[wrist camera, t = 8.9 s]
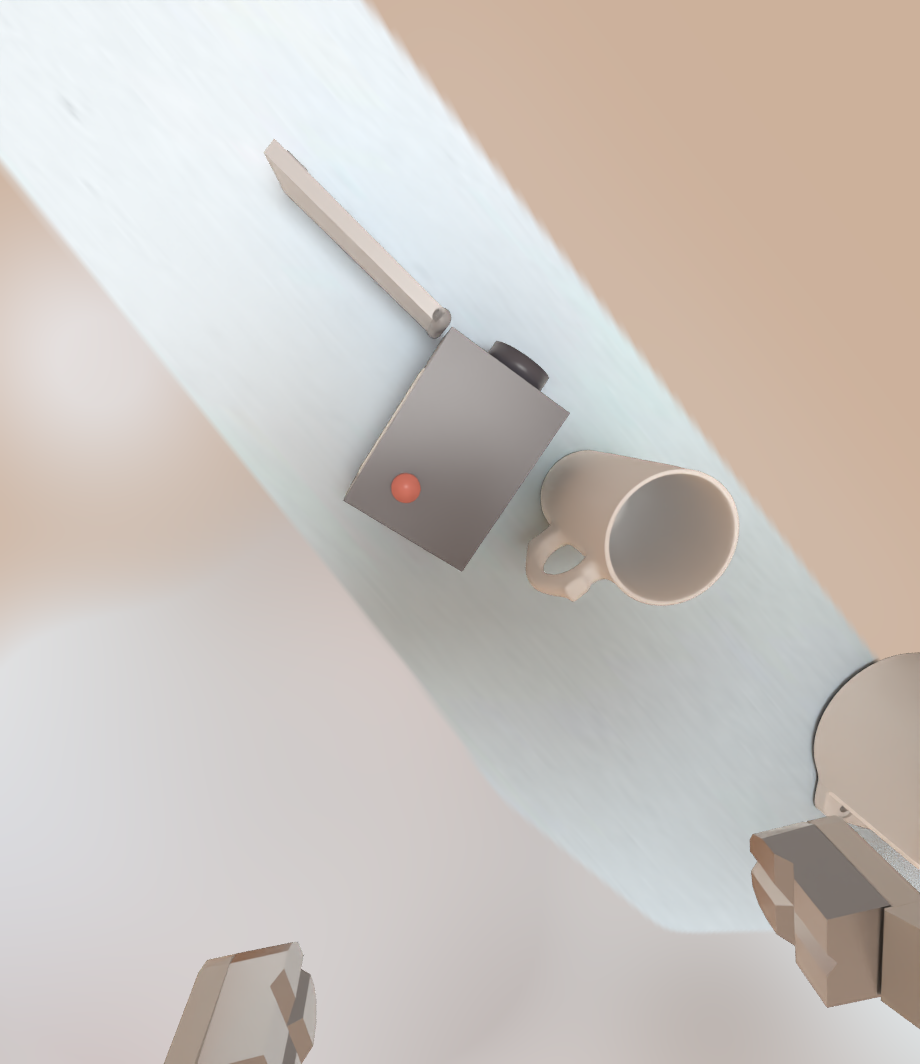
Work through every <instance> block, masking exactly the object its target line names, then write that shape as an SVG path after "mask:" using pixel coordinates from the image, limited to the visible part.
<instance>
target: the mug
mask: <svg viewBox="0 0 920 1064" xmlns="http://www.w3.org/2000/svg"><path fill="white" fill-rule="evenodd" d="M541 506H542V510H543V513H544V516H545V518H546V520H547V521H548V523H549V524H550V526H549V527H548V528H547V529H546V530H544V531H543V532H542V533H540V534H539V535H538V536H536V537H534V538H533V539H532V540H531V541H530V542H529V543H528V548H527V557H526V575H527V578H528V580H529V582H530V584H531V585H532V586H533V587H534V588H535V589H536V590H538V591H540V592H542V593H546V594H549V595H553V596H559V597H565V598H568V599H569V600H571V601H576V600H577V599H578V598H580V597H581V596H582V595H584V594H585V593H586V592H587V591H588V590H589V589H590V586H591V585H592V584H593V583H594V582H596V581H598V580H601V579H608V580H610V581H612V582H613V583H615V584H616V585H617V586H618V587H619V588H620V589H621V590H622V591H623V592H624V593H625V594H627V595H628V596H629V597H631V598H633V599H635V600H637V601H639V602H642V603H645V604H650V605H658V606H665V605H673V604H678V603H682V602H685V601H688V600H690V599H692V598H694V597H696V596H698V595H700V594H701V593H703V592H704V591H705V590H707V589H708V588H709V587H710V586H712V585H713V584H714V583H715V582H716V581H717V580H718V579H719V577H720V576H721V575H722V574H723V572H724V571H725V570H726V568H727V566H728V565H729V563H730V561H731V559H732V557H733V554H734V552H735V549H736V545H737V541H738V535H739V518H738V512H737V508H736V505H735V502H734V500H733V498H732V496H731V495H730V493H729V492H728V490H727V489H726V488H725V487H724V486H723V485H722V484H721V483H720V482H719V481H717V480H716V479H714V478H713V477H711V476H709V475H707V474H705V473H702V472H700V471H696V470H691V469H685V468H681V467H677V466H673V465H668V464H663V463H658V462H652V461H647V460H642V459H636V458H631V457H626V456H621V455H616V454H611V453H604V452H598V451H590V450H584V451H578V452H574V453H571V454H569V455H567V456H565V457H563V458H562V459H560V460H559V461H558V462H557V463H556V464H555V465H554V466H553V467H552V468H551V469H550V471H549V472H548V474H547V475H546V477H545V480H544V482H543V485H542V489H541ZM564 545H571V546H573V547H574V548H576V549H577V550H578V551H579V552H580V553H581V554H582V555H584V556H585V558H584V559H583V561H582V562H581V563H580V564H578V565H577V566H576V567H574V568H572V569H571V570H569V571H567V572H564V573H561V574H555V575H552V574H547V573H545V572H544V564H545V562H546V560H547V559H548V557H549V556H550V555H551V554H552V553H553V552H554V551H556V550H557V549H558V548H560V547H562V546H564Z"/></svg>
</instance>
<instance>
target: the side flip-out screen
mask: <svg viewBox="0 0 920 1064" xmlns="http://www.w3.org/2000/svg"><path fill="white" fill-rule="evenodd" d="M264 154H265V156H266V158H267V160H268V162H269V164H270V166H271V168H272V169H273V171H274V173H275V175H276V177H277V179H278V181H279V183H280V185H281V187H282V189H283V191H284V192H285V193H286V194H287V195H288V196H289V197H290V198H291V199H292V200H293V201H294V202H295V203H296V204H297V205H298V206H299V207H300V208H301V209H302V210H303V211H304V212H305V213H306V214H307V215H308V216H309V217H310V218H311V219H313V220H314V221H315V222H316V223H317V224H318V225H319V226H320V227H321V228H322V229H323V230H324V231H325V232H326V233H327V234H328V235H329V236H330V237H331V238H332V239H333V240H334V241H335V242H336V243H337V244H338V245H339V246H340V247H341V248H342V249H343V250H344V251H345V252H346V253H347V254H348V255H349V256H350V257H351V258H352V259H353V260H354V261H355V262H357V263H358V264H359V265H360V266H361V267H362V268H363V269H364V270H365V271H366V272H367V273H368V274H369V275H370V276H371V277H372V278H373V279H374V280H375V281H376V282H377V283H378V284H379V285H380V286H381V287H382V288H383V289H384V290H385V291H386V292H387V293H388V294H389V295H390V296H391V297H392V298H393V299H394V300H395V301H396V302H397V303H398V304H400V305H401V306H402V307H403V308H404V309H405V310H406V311H407V312H408V313H409V314H410V315H411V316H412V317H413V318H414V319H415V320H416V321H417V322H418V323H419V324H420V325H421V326H422V327H423V328H424V329H425V330H426V331H427V334H428V335H429V336H430V337H432V338H438V337H439V336H440V335H441V334H442V333H443V331H444V330H445V329H446V328H447V326H448V325H449V324H450V321H451V314H450V312H449V311H448V310H447V309H446V308H443V307H442V306H441V305H440V304H439V303H438V302H437V301H436V300H435V299H434V298H433V297H432V296H431V295H430V294H429V293H428V292H427V291H426V290H425V289H424V288H423V287H422V286H421V285H420V284H419V283H418V282H417V281H416V280H415V279H414V278H413V277H412V276H411V275H410V274H409V273H408V272H407V271H406V270H405V269H404V268H403V267H402V266H401V265H400V264H399V263H398V262H397V261H396V260H395V259H394V258H393V257H392V256H391V255H390V254H389V253H388V252H387V251H386V250H385V249H384V248H383V247H382V246H381V245H380V244H379V243H378V242H377V241H376V240H375V239H374V238H373V237H372V236H371V235H370V234H369V233H368V232H367V231H366V230H365V229H364V228H363V227H362V226H361V225H360V224H359V223H358V222H357V221H356V220H355V219H354V218H353V217H352V216H351V215H350V214H349V213H348V212H347V211H346V210H345V209H344V208H343V207H342V206H341V205H340V204H339V203H338V202H337V201H336V200H335V199H334V198H333V197H332V196H331V195H330V194H329V193H328V192H327V191H326V190H325V189H324V188H323V187H322V186H321V185H320V184H319V183H318V182H317V181H316V180H315V179H314V178H313V177H312V176H311V175H310V174H309V173H308V171H307V169H306V168H305V167H304V166H303V165H302V164H301V163H300V162H299V161H298V160H297V159H296V158H295V157H294V156H293V155H292V154H291V153H290V152H289V151H288V150H287V151H286V150H285V149H284V148H283V147H282V146H281V145H280V144H279V143H278V142H277V141H276V140H275V139H274V140H273V141H272V142H271V144H270V145H269V146H268V147H267V149H266V150H265V151H264Z"/></svg>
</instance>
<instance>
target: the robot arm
mask: <svg viewBox="0 0 920 1064" xmlns="http://www.w3.org/2000/svg"><path fill="white" fill-rule="evenodd" d="M814 758H815V764H816V768H817V772H818V784H817V789H816V793H815V806H816V808H817V809H818V810H820V811H821V812H822V813H823V814H825V815H826V816H828V817H824V818H819V819H815V820H811V821H807V822H799V823H795V824H791V825H787V826H783V827H779V828H775V829H771V830H767V831H763V832H759V833H755V834H753V835H752V837H751V838H750V852H751V853H752V854H753V856H754V857H755V859H756V860H757V863H756V864H755V866H754V867H753V869H752V871H751V875H752V885H753V889H754V892H755V895H756V898H757V901H758V904H759V906H760V908H761V909H762V911H763V913H764V915H765V917H766V919H767V920H768V922H769V923H770V925H771V926H772V928H773V929H774V931H775V932H776V934H777V935H779V936H780V937H782V938H783V939H785V940H787V941H788V942H790V943H791V944H793V945H794V946H795V956H796V963H797V965H798V966H799V968H800V969H801V971H802V972H803V973H804V975H805V976H806V978H807V979H808V981H809V982H810V984H811V985H812V987H813V988H814V990H815V991H816V992H817V994H818V995H819V997H820V998H821V1000H822V1001H823V1003H824V1004H825V1006H826V1007H827V1008H829V1007H833V1006H838V1005H843V1004H848V1003H852V1002H857V1001H862V1000H867V999H872V998H877V997H881V1001H882V1002H884V1003H885V1004H886V1005H888V1006H889V1007H890V1008H892V1009H893V1010H895V1011H896V1012H897V1013H899V1014H900V1015H901V1016H903V1017H904V1018H905V1019H907V1020H908V1021H909V1022H911V1023H912V1024H913V1025H915V1026H916V1027H918V1028H919V1029H920V893H919V892H918V891H917V890H916V889H915V888H914V887H913V886H912V885H911V884H910V883H909V882H908V881H907V880H906V879H904V878H903V877H902V876H901V875H900V874H899V873H898V872H897V871H896V870H895V869H894V868H893V867H892V866H891V865H890V864H889V863H888V862H887V861H886V860H885V859H884V858H883V857H882V856H881V855H880V854H879V853H877V852H876V851H875V850H874V849H873V848H872V847H871V846H870V845H869V844H868V843H867V842H866V841H865V840H864V839H863V838H862V837H861V836H860V835H859V834H858V833H857V832H856V831H855V830H854V829H853V828H851V827H850V826H849V825H848V824H847V823H850V824H853V825H857V826H860V827H864V828H867V829H870V830H872V831H873V832H875V833H876V834H877V835H878V836H879V837H880V838H882V839H883V840H884V841H885V842H886V843H888V844H889V845H890V846H891V847H892V848H893V849H895V850H896V851H897V852H898V853H899V854H901V855H902V856H903V857H904V858H905V859H907V860H908V861H909V862H910V863H911V864H913V865H914V866H915V867H917V868H918V869H920V653H906V654H900V655H895V656H892V657H889V658H886V659H883V660H881V661H878V662H876V663H874V664H872V665H870V666H869V667H867V668H865V669H864V670H862V671H861V672H859V673H858V674H857V675H855V676H854V677H853V678H852V679H850V680H849V681H848V682H847V683H846V684H845V685H844V686H843V687H842V688H841V689H840V690H839V692H838V693H837V694H836V695H835V696H834V698H833V699H832V700H831V702H830V703H829V705H828V706H827V708H826V710H825V712H824V713H823V716H822V718H821V720H820V722H819V725H818V728H817V731H816V736H815V741H814ZM846 822H847V823H846ZM303 956H304V955H303V953H302V950H301V948H300V946H299V943H298V942H292V943H287V944H282V945H277V946H272V947H267V948H262V949H257V950H252V951H247V952H242V953H237V954H233V955H228V956H224V957H219V958H214V959H210V960H207V961H206V963H205V964H204V965H203V967H202V969H201V970H200V971H199V973H198V975H197V978H196V981H195V983H194V986H193V988H192V991H191V994H190V997H189V999H188V1002H187V1004H186V1007H185V1010H184V1012H183V1015H182V1018H181V1020H180V1023H179V1025H178V1028H177V1031H176V1034H175V1036H174V1038H173V1041H172V1044H171V1046H170V1049H169V1052H168V1055H167V1057H166V1060H165V1062H164V1064H302V1062H303V1061H304V1059H305V1057H306V1056H307V1054H308V1053H309V1051H310V1050H311V1048H312V1046H313V1042H314V1036H315V1029H316V994H315V988H314V984H313V981H312V978H311V975H310V974H309V973H307V972H305V971H304V970H302V969H301V966H302V961H303Z"/></svg>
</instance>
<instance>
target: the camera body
mask: <svg viewBox="0 0 920 1064" xmlns="http://www.w3.org/2000/svg"><path fill="white" fill-rule="evenodd" d="M548 379H549V377H548V375H547V374H546V372H545V371H544V370H543V369H542V368H541V367H540V366H539V365H538V364H536V363H535V362H534V361H533V360H531V359H530V358H529V357H527V356H526V355H524V354H523V353H522V352H520V351H518V350H517V349H515V348H513V347H511V346H510V345H507V344H505V343H503V342H499V341H496V342H495V343H494V345H493V347H492V348H491V350H490V351H489V353H487V352H486V351H485V350H483V349H482V348H481V347H479V346H478V345H477V344H475V343H474V342H473V341H471V340H470V339H468V338H467V337H466V336H464V335H463V334H462V333H460V332H459V331H458V330H456V329H455V328H453V327H452V328H451V329H450V330H449V331H448V332H447V334H446V335H445V336H444V337H443V339H442V340H441V342H440V343H439V345H438V347H437V348H436V350H435V351H434V353H433V354H432V356H431V358H430V359H429V361H428V362H427V364H426V366H425V367H424V368H423V369H422V370H421V371H420V373H419V374H418V376H417V378H416V379H415V381H414V382H413V384H412V386H411V387H410V389H409V390H408V392H407V394H406V395H405V397H404V398H403V400H402V402H401V403H400V405H399V406H398V408H397V409H396V411H395V413H394V414H393V416H392V417H391V419H390V421H389V422H388V424H387V425H386V427H385V429H384V430H383V432H382V433H381V435H380V437H379V438H378V440H377V441H376V443H375V445H374V446H373V448H372V449H371V451H370V453H369V454H368V456H367V457H366V459H365V461H364V462H363V464H362V465H361V467H360V469H359V471H358V473H357V476H356V477H355V479H354V481H353V482H352V484H351V486H350V488H349V490H348V492H347V494H346V496H345V498H344V500H343V501H345V502H347V503H348V504H350V505H352V506H353V507H355V508H357V509H358V510H360V511H362V512H363V513H365V514H367V515H368V516H370V517H372V518H373V519H375V520H377V521H378V522H380V523H382V524H383V525H385V526H387V527H388V528H390V529H392V530H393V531H395V532H397V533H398V534H400V535H402V536H403V537H405V538H407V539H408V540H410V541H412V542H413V543H415V544H417V545H418V546H420V547H422V548H423V549H425V550H427V551H428V552H430V553H432V554H433V555H435V556H437V557H438V558H440V559H442V560H443V561H445V562H447V563H448V564H450V565H452V566H453V567H455V568H457V569H458V570H460V571H463V569H464V568H465V566H466V565H467V563H468V562H469V560H470V559H471V557H472V556H473V555H474V553H475V552H476V550H477V549H478V547H479V546H480V544H481V543H482V541H483V540H484V538H485V537H486V535H487V534H488V533H489V531H490V530H491V528H492V527H493V525H494V524H495V522H496V521H497V519H498V518H499V516H500V515H501V513H502V512H503V511H504V509H505V508H506V506H507V505H508V503H509V502H510V500H511V499H512V497H513V496H514V494H515V493H516V491H517V490H518V489H519V487H520V486H521V484H522V483H523V481H524V480H525V478H526V477H527V475H528V474H529V472H530V471H531V469H532V468H533V467H534V465H535V464H536V462H537V461H538V459H539V458H540V456H541V455H542V453H543V452H544V450H545V449H546V447H547V446H548V445H549V443H550V442H551V440H552V439H553V437H554V436H555V434H556V433H557V431H558V430H559V428H560V427H561V425H562V424H563V423H564V421H565V420H566V418H567V417H568V415H569V414H570V413H569V412H568V411H566V410H565V409H564V408H562V407H561V406H559V405H558V404H557V403H555V402H554V401H553V400H551V399H550V398H549V397H547V396H546V395H544V394H543V393H542V392H540V391H541V390H542V388H543V387H544V385H545V384H546V382H547V381H548Z"/></svg>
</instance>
